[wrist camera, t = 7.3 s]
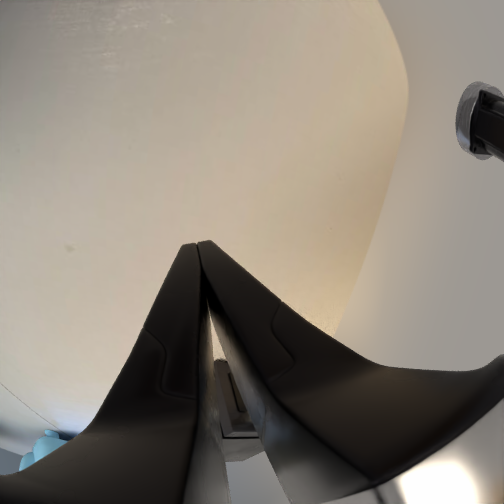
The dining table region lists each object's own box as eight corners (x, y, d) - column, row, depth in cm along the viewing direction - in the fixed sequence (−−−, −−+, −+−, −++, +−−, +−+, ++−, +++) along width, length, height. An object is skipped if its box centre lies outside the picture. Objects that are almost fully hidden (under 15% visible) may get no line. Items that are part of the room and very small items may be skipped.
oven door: (228, 347, 30) (249, 421, 23) (293, 360, 35) (317, 420, 29) (207, 366, 32) (223, 437, 25) (271, 377, 37) (292, 434, 30)
